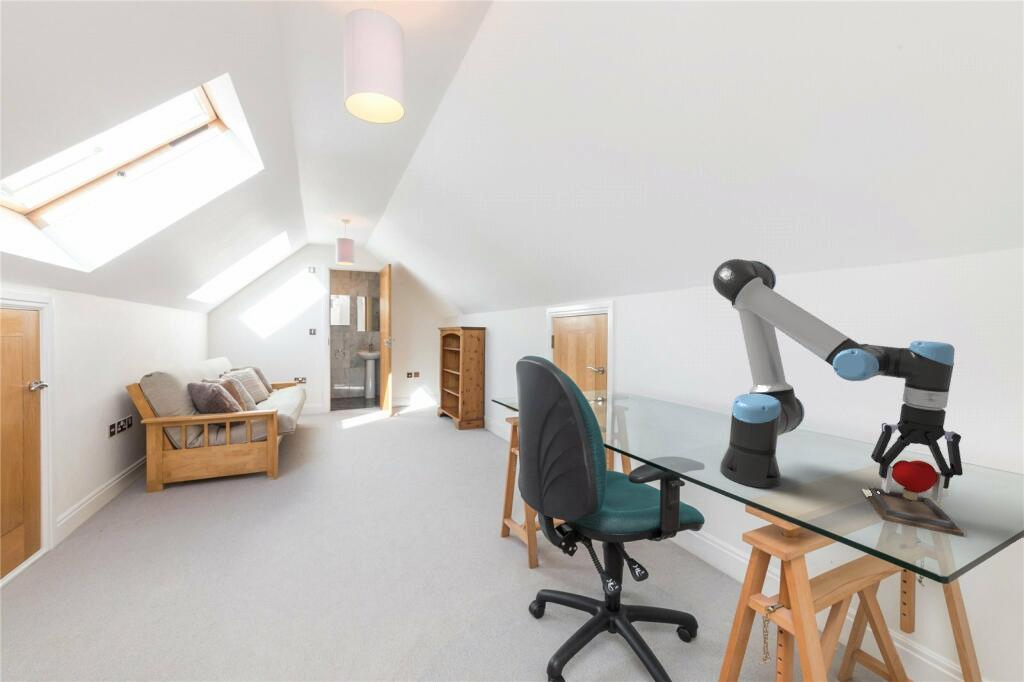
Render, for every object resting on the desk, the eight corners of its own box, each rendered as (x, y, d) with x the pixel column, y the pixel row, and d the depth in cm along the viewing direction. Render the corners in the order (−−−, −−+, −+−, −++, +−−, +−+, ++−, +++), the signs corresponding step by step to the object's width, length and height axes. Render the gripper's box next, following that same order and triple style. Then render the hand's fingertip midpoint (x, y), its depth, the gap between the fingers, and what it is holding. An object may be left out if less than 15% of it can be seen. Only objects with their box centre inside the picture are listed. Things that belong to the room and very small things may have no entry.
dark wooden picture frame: (882, 519, 97) (883, 511, 97) (861, 490, 111) (862, 483, 111) (963, 536, 91) (965, 528, 91) (930, 503, 105) (931, 496, 105)
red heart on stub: (913, 493, 104) (919, 456, 103) (943, 508, 97) (949, 468, 96) (878, 493, 104) (883, 455, 103) (905, 507, 97) (911, 467, 96)
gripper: (871, 403, 99) (859, 491, 102) (996, 417, 90) (979, 513, 93) (861, 396, 106) (850, 479, 109) (977, 408, 97) (962, 498, 99)
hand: (910, 494), depth 101 cm, fingers closed on red heart on stub, 9 cm apart
